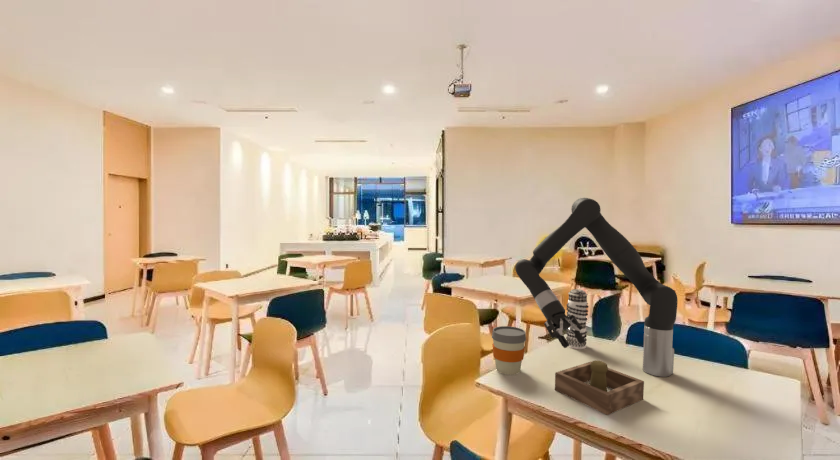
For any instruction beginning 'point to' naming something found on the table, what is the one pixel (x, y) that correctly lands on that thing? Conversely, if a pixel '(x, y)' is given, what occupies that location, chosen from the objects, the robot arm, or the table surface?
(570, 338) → the decorative candle
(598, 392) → the walnut crate
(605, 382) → the olive pawn
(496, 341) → the reusable coffee cup
